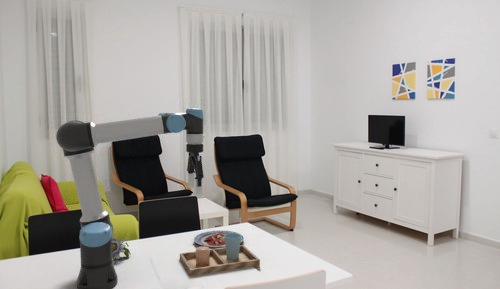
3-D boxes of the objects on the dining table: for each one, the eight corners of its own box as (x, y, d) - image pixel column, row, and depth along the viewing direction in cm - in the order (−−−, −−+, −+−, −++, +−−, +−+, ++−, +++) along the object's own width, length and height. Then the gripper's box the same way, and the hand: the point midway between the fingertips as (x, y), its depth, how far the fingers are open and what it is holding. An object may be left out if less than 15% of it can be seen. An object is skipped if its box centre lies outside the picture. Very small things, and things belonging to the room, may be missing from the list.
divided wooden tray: (190, 278, 167) (190, 270, 167) (179, 260, 186) (179, 253, 185) (259, 267, 179) (259, 259, 178) (243, 252, 197) (243, 245, 197)
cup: (243, 259, 185) (243, 237, 184) (227, 261, 182) (227, 239, 181) (237, 253, 192) (237, 232, 191) (222, 256, 189) (222, 234, 188)
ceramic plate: (184, 241, 213) (184, 235, 212) (222, 231, 230) (222, 226, 230) (214, 255, 194) (214, 249, 193) (254, 243, 211) (254, 237, 211)
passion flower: (112, 272, 185) (94, 254, 182) (116, 259, 196) (99, 241, 192) (132, 259, 185) (115, 240, 181) (135, 246, 195) (119, 228, 192)
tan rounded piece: (197, 267, 175) (197, 252, 175) (194, 262, 181) (194, 247, 180) (211, 265, 178) (211, 250, 177) (207, 260, 183) (207, 245, 182)
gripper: (210, 145, 170) (210, 195, 172) (196, 140, 193) (196, 184, 195) (193, 146, 167) (193, 197, 170) (180, 141, 190) (180, 185, 193)
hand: (194, 190), depth 182 cm, fingers open, 13 cm apart
